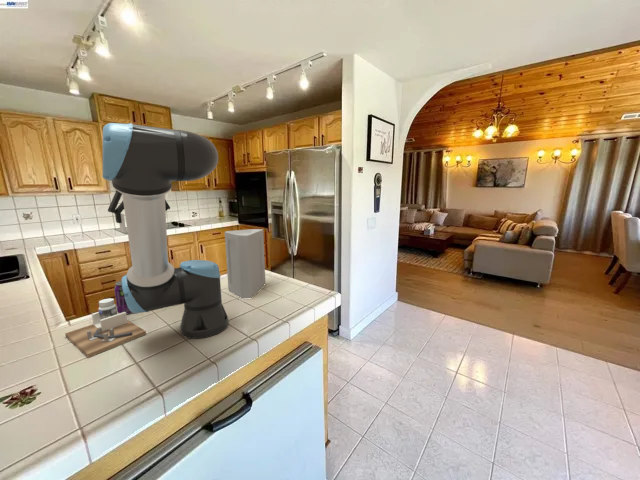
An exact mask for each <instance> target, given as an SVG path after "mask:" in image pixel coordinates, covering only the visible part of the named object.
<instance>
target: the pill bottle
mask: <svg viewBox="0 0 640 480" xmlns="http://www.w3.org/2000/svg"><path fill="white" fill-rule="evenodd" d="M98 306H99V307H98V312H99V316H100V320H101V319H104V318H107V317H110V316H113V315H117V309H116V307H117V304H116V303H115V299H114V298H111V297H109V298H104V299H101V300H99V301H98Z"/></svg>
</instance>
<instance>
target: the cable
mask: <svg viewBox="0 0 640 480" xmlns="http://www.w3.org/2000/svg"><path fill="white" fill-rule="evenodd" d="M131 335H132V332H129V333H123V334H118V335H113V336H108V337H109V339H111V338H115V339H116V338H121V337H126V336H131ZM93 336H94V337H97V338H98V339H104V337H103V335H98V329H97V330H96V332H95V333H94V335H93Z"/></svg>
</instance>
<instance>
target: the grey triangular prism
mask: <svg viewBox="0 0 640 480" xmlns="http://www.w3.org/2000/svg"><path fill="white" fill-rule="evenodd" d="M264 236H265V235H264V228H262V229H261V228H252V229H250V228H249V229H240V230H227V231H224V240H225V241H224V243H225V256H226V257H225V258H226V273H227V275H226V276H227V287H228V289H227V291H228V290H229V292H230V293H231V292H232V294H233V293H234V294H233V295H235V296H236V295H237V296H236V297H238V296H239V297H238V298H240V297H241V298H240V299H242V298H252V297H253V296H254V295H255V294H256V293H257V292H258V291H259V290H260V289H261V288H262V287H263V286H264V284H265V285H266V264H265V263H266V262H265V238H264ZM264 287H265V286H264ZM264 287H263V288H264ZM263 288H262V289H263ZM262 289H261V290H262ZM261 290H260V291H261ZM260 291H259V292H260ZM259 292H258V293H259ZM258 293H257V294H258ZM257 294H256V295H257ZM256 295H255V296H256ZM255 296H254V297H255ZM254 297H253V298H254ZM253 298H252V299H253Z"/></svg>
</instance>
